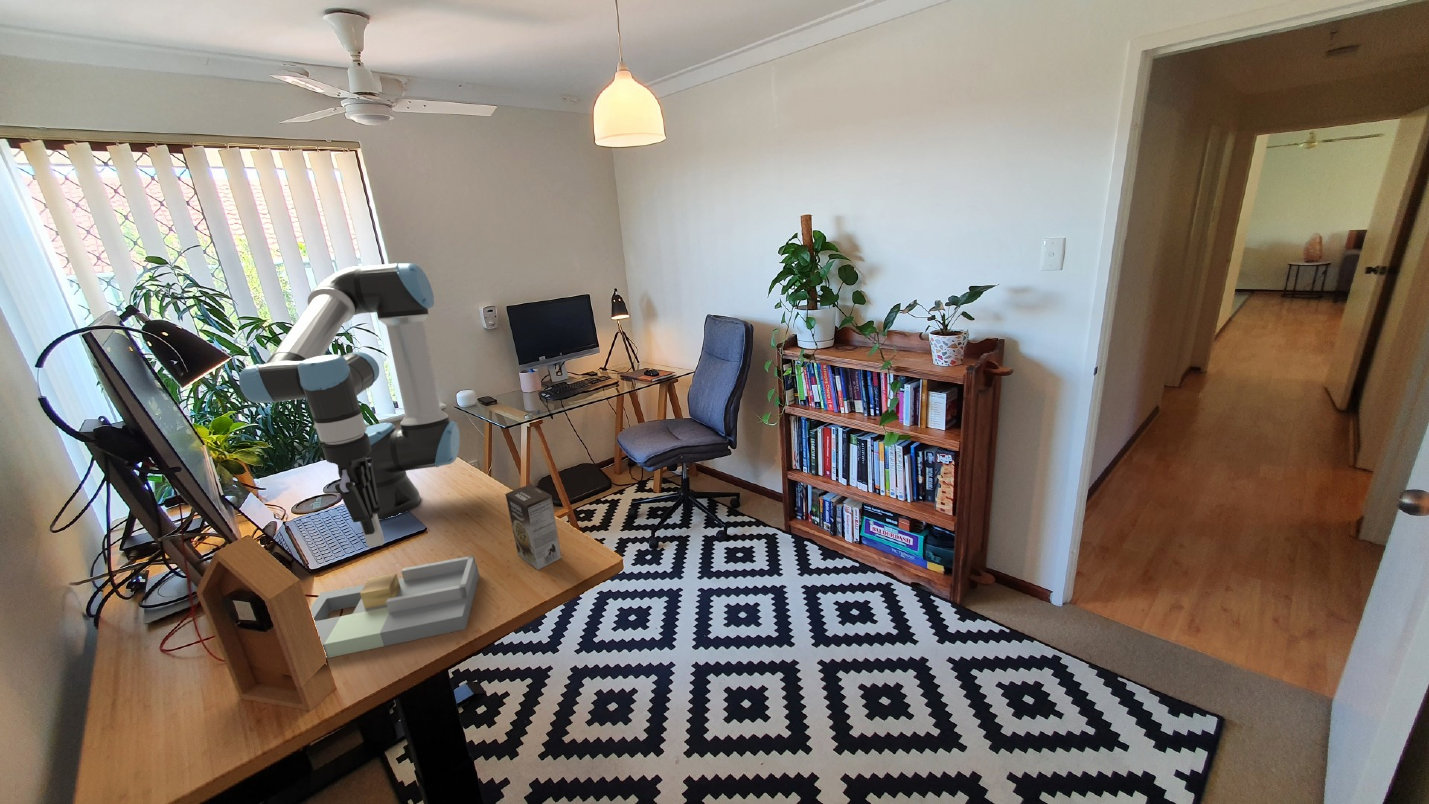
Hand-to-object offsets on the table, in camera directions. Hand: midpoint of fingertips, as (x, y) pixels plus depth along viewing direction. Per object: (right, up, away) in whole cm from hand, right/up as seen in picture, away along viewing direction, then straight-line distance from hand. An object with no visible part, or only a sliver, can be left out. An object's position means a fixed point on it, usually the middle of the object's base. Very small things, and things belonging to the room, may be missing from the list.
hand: (376, 544), depth 110 cm
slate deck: (+5, -13, -3) cm, 15 cm away
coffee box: (+29, -7, +13) cm, 33 cm away
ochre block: (+3, -10, -2) cm, 11 cm away
